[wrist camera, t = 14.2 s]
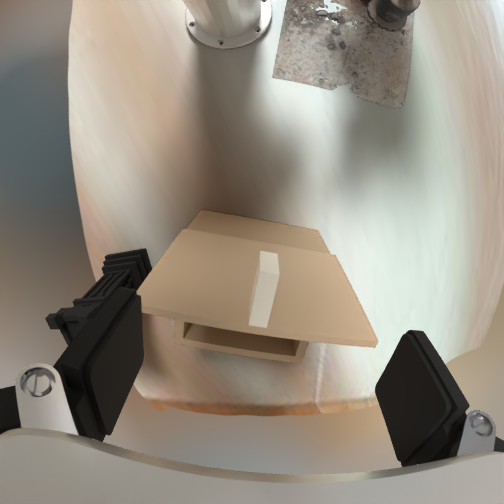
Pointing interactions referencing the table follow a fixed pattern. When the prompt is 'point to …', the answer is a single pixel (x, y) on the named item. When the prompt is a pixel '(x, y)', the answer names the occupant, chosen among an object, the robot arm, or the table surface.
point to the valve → (349, 47)
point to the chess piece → (102, 291)
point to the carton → (240, 340)
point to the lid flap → (256, 290)
